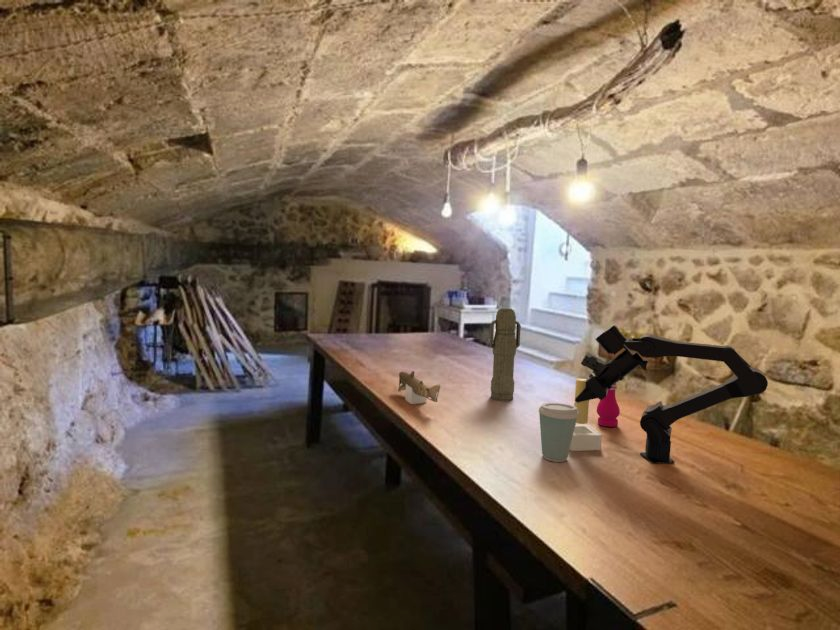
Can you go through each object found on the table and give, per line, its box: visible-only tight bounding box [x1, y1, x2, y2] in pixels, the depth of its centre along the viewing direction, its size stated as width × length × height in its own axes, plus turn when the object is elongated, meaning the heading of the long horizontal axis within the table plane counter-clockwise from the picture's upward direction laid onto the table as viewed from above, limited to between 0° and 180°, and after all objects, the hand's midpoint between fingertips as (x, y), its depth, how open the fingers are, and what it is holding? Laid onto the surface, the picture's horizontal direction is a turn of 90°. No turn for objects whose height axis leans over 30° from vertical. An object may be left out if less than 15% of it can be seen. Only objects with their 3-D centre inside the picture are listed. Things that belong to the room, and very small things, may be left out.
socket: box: [569, 423, 603, 452], centre depth 146 cm, size 9×9×4 cm
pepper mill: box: [596, 383, 621, 428], centre depth 163 cm, size 7×7×20 cm
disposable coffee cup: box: [538, 402, 579, 463], centre depth 135 cm, size 11×11×15 cm
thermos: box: [489, 307, 522, 402], centre depth 191 cm, size 9×12×35 cm
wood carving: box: [397, 370, 441, 405], centre depth 182 cm, size 9×35×11 cm, turn 23°
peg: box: [573, 378, 590, 424], centre depth 145 cm, size 4×4×12 cm
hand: (577, 399), depth 145 cm, fingers closed on peg, 4 cm apart
